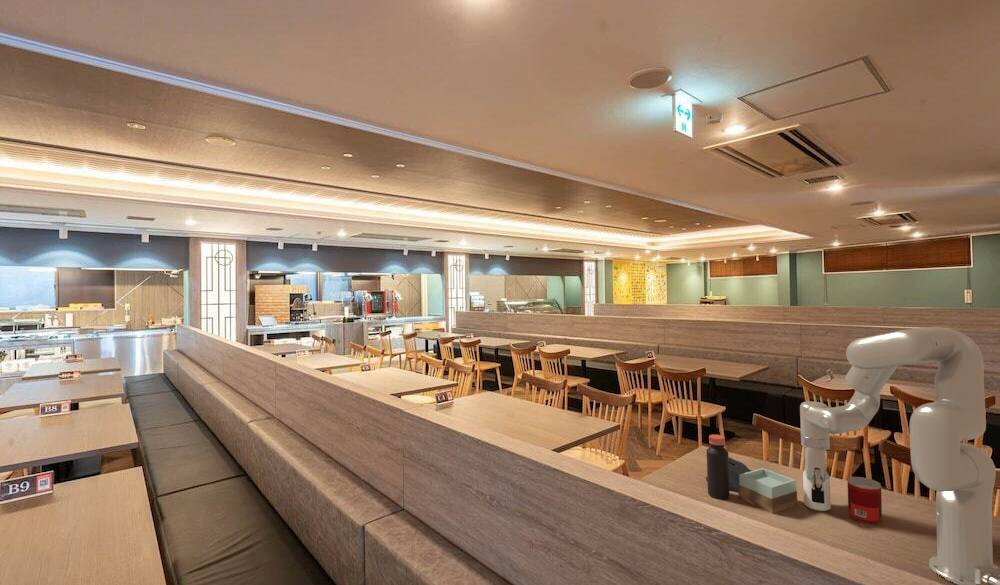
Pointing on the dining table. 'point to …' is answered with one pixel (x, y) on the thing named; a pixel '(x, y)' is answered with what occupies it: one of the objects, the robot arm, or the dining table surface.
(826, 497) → the can
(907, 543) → the dining table surface
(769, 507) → the bottom block
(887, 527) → the dining table surface
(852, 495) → the canned food
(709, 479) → the bottle
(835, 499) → the dining table surface
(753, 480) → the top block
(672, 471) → the dining table surface
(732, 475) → the dark slate chunk
